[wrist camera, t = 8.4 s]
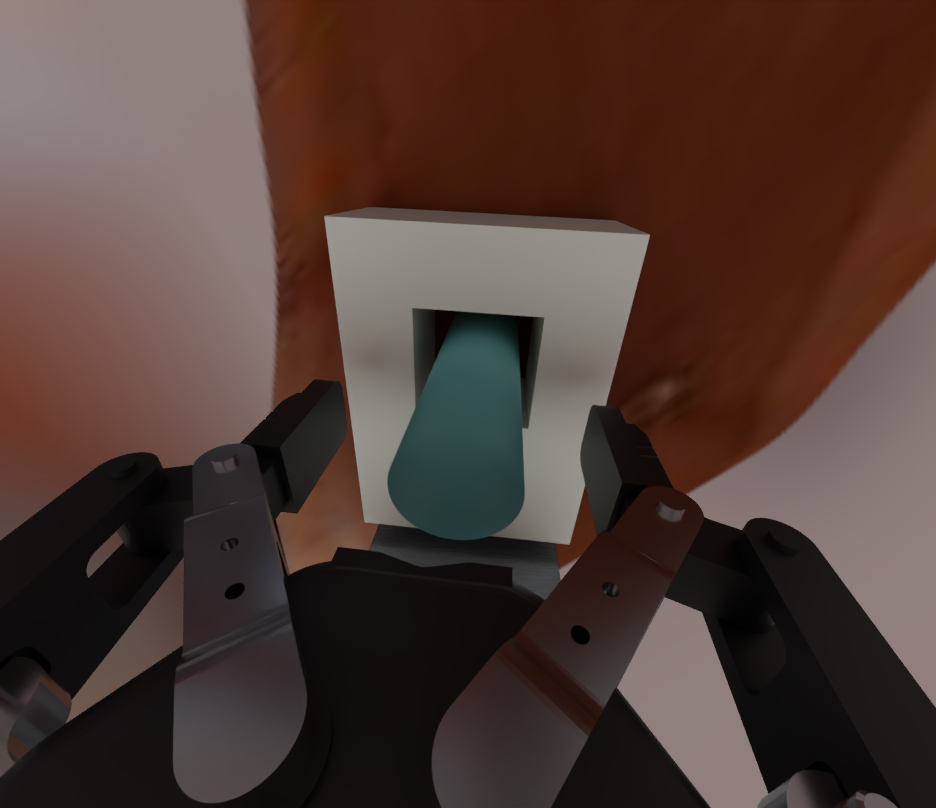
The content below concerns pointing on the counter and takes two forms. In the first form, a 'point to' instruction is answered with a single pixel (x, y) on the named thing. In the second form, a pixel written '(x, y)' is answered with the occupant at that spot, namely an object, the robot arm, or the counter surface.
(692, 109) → the counter surface
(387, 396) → the socket
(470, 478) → the peg
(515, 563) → the grey upright panel
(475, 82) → the counter surface
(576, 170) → the counter surface
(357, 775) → the robot arm
